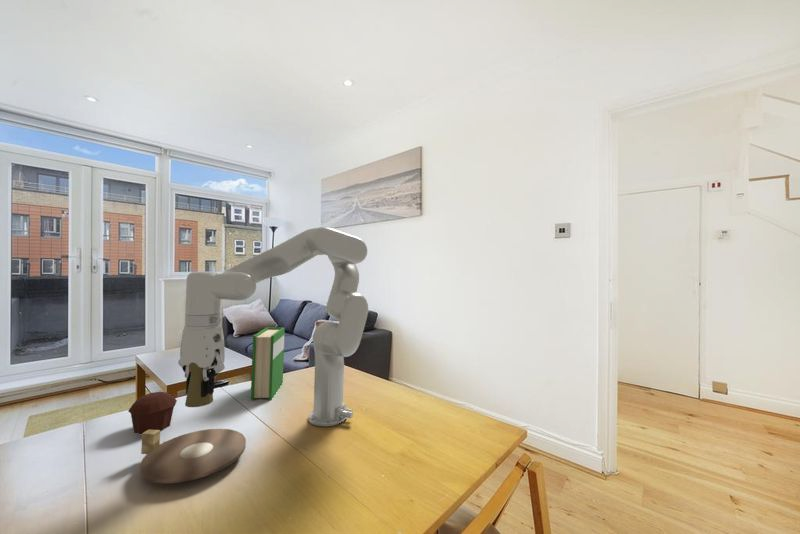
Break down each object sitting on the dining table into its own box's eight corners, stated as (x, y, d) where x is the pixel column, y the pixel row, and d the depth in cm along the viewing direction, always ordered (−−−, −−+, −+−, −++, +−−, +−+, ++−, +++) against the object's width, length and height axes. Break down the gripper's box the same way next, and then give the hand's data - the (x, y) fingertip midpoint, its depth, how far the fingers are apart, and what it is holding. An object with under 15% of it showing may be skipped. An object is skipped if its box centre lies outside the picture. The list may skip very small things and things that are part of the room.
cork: (199, 408, 76) (201, 362, 76) (178, 405, 77) (180, 360, 78) (219, 398, 82) (220, 356, 82) (199, 396, 83) (200, 354, 84)
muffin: (161, 415, 104) (162, 385, 104) (184, 422, 100) (185, 390, 100) (118, 432, 93) (119, 398, 93) (142, 440, 89) (143, 404, 89)
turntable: (244, 426, 94) (245, 409, 94) (247, 467, 75) (247, 445, 75) (146, 443, 84) (147, 424, 84) (119, 497, 64) (120, 471, 64)
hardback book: (271, 400, 119) (273, 335, 119) (250, 400, 118) (253, 335, 118) (282, 383, 136) (284, 327, 137) (264, 384, 135) (266, 327, 136)
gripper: (240, 321, 81) (238, 393, 81) (191, 316, 86) (188, 384, 86) (216, 325, 74) (212, 404, 74) (163, 320, 79) (160, 394, 79)
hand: (199, 393), depth 80 cm, fingers closed on cork, 4 cm apart
